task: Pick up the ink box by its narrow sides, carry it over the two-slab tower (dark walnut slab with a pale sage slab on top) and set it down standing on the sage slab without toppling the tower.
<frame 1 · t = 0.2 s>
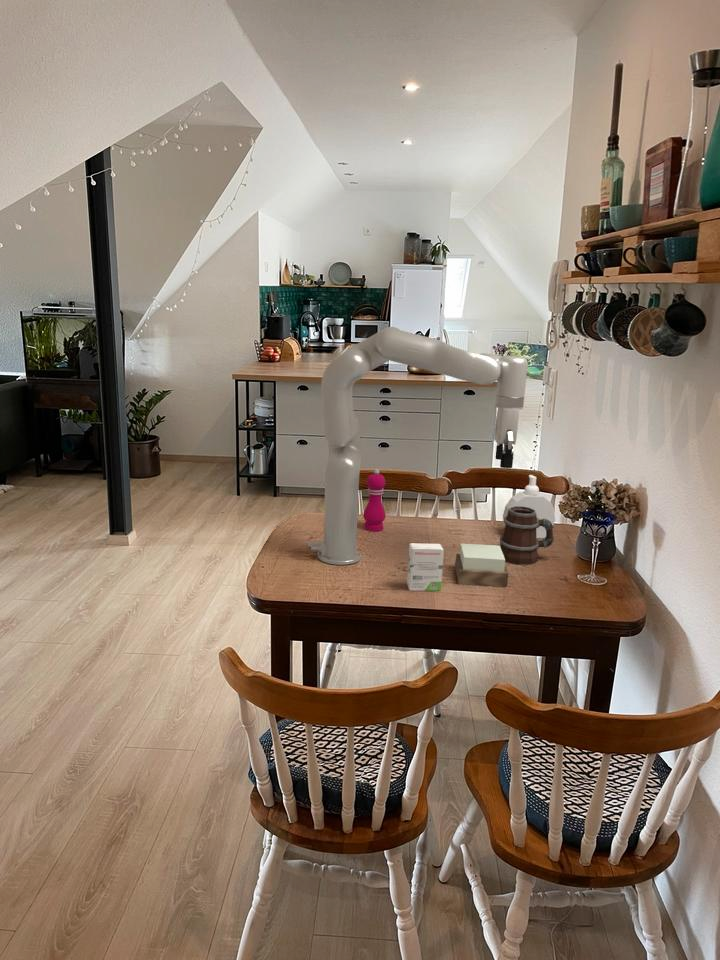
hand: (503, 463, 204), 31 cm above the table, fingers open, 9 cm apart
pepper mill: (373, 529, 241), on the table
tower top: (481, 563, 204), point 4 cm above the table, touching tower base
ink box: (423, 588, 196), on the table
soap bottle: (526, 536, 241), on the table
tower base: (480, 578, 205), on the table, touching tower top
mug: (524, 558, 220), on the table
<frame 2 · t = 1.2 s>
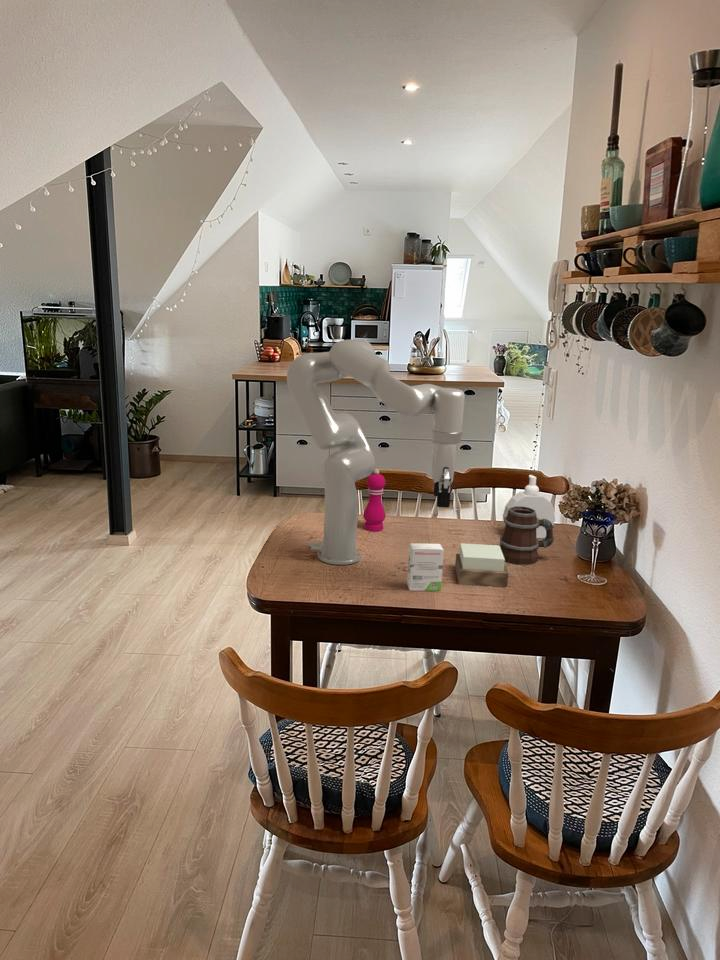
hand: (441, 501, 192), 23 cm above the table, fingers open, 9 cm apart
nothing on the table moved.
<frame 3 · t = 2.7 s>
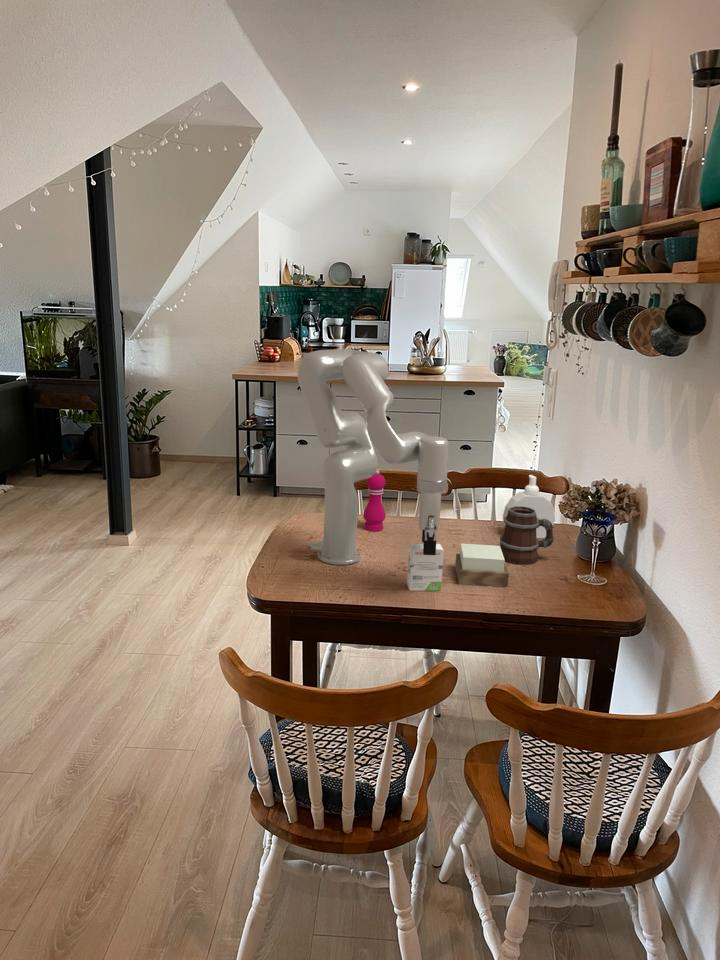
hand: (428, 548, 192), 11 cm above the table, fingers open, 9 cm apart
nothing on the table moved.
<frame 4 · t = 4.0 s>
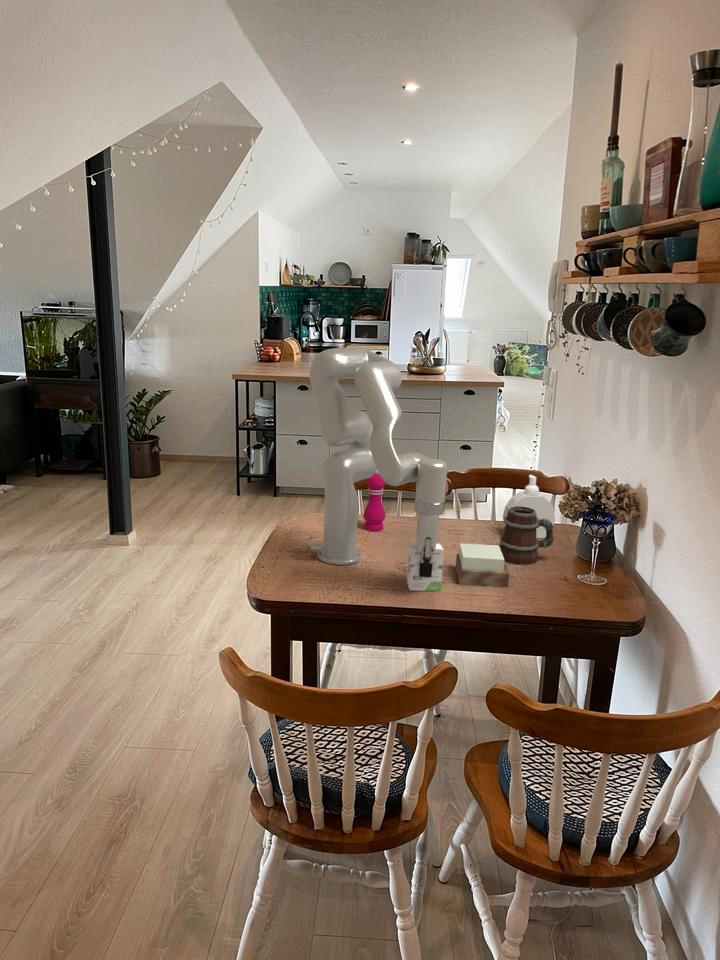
hand: (424, 571, 194), 5 cm above the table, fingers closed on ink box, 5 cm apart
ink box: (423, 588, 196), on the table, touching gripper
everything else where it was.
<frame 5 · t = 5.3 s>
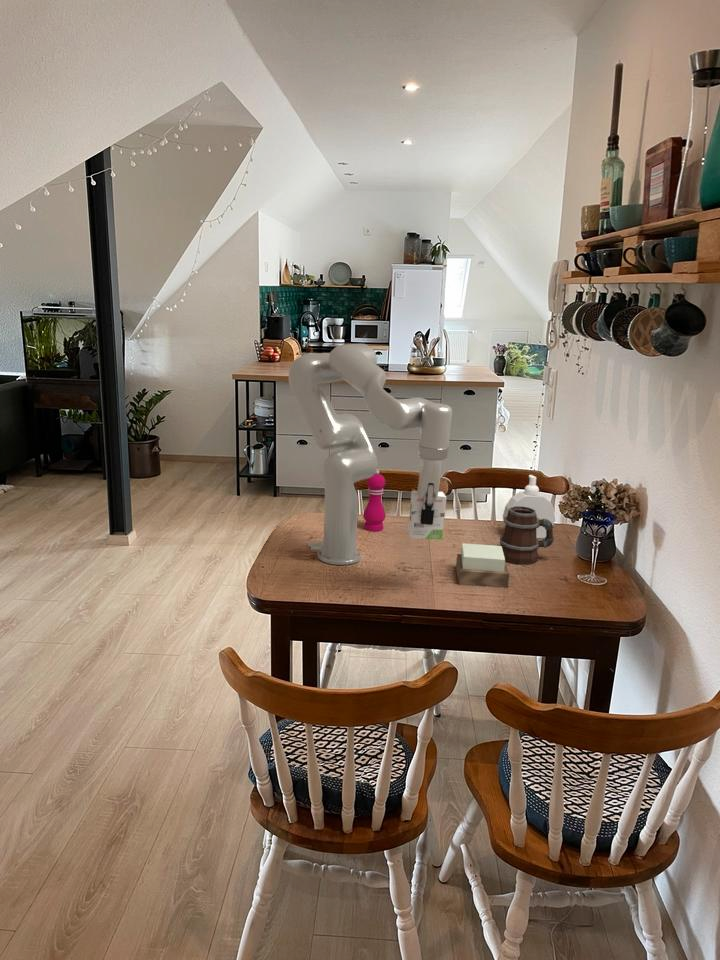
hand: (426, 519, 191), 19 cm above the table, fingers closed on ink box, 5 cm apart
ink box: (424, 536, 193), point 14 cm above the table, touching gripper
everything else where it was.
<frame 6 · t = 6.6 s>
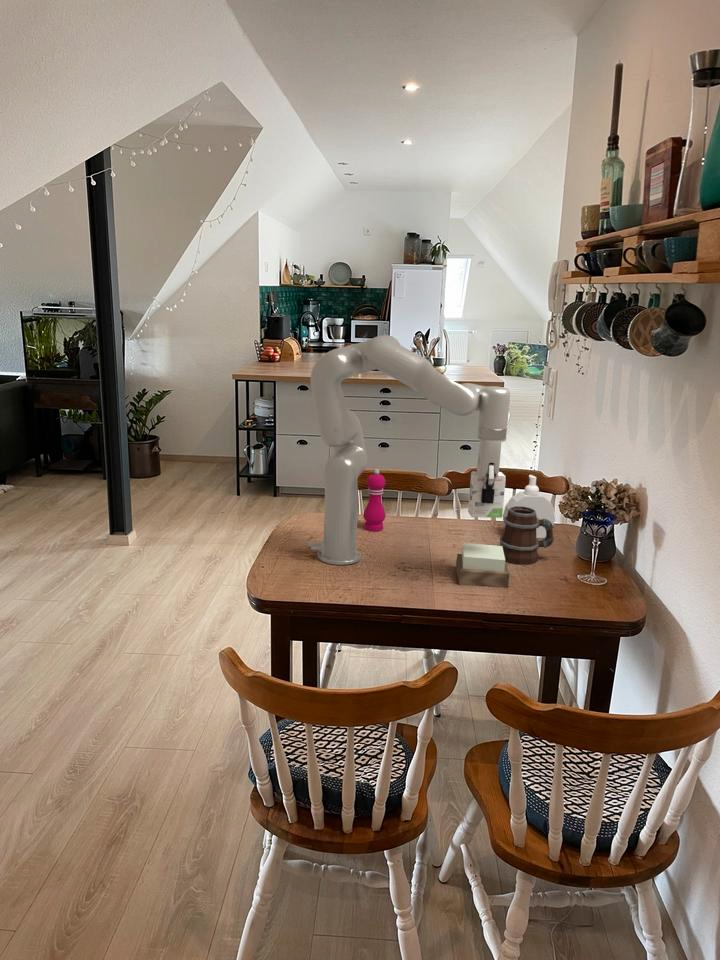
hand: (486, 499, 198), 23 cm above the table, fingers closed on ink box, 5 cm apart
ink box: (484, 515, 200), point 18 cm above the table, touching gripper
everything else where it was.
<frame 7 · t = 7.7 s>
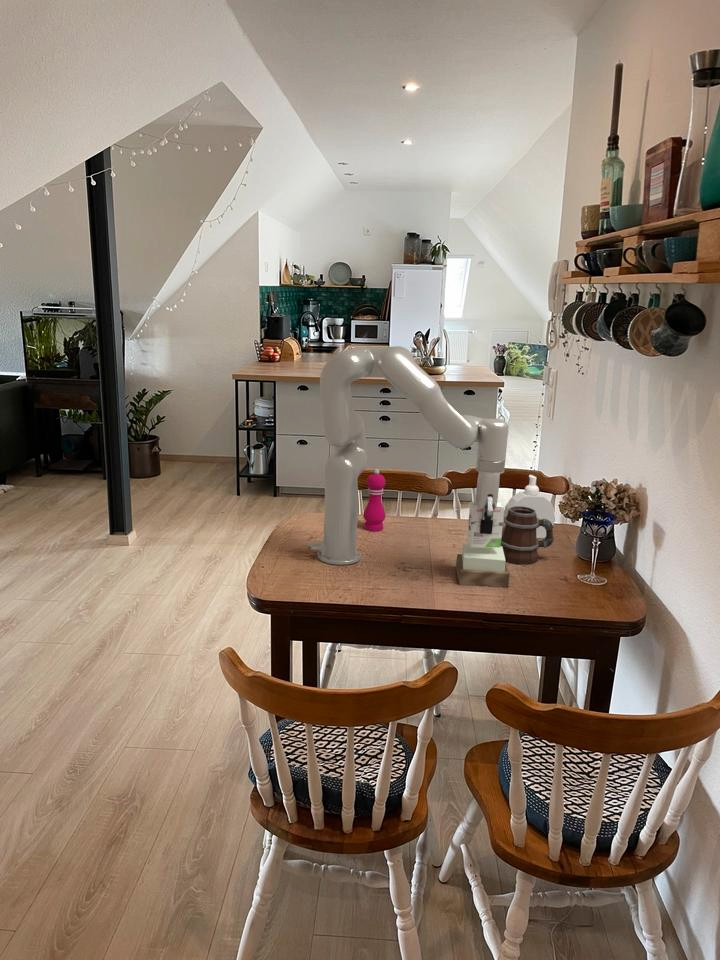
hand: (484, 529, 201), 14 cm above the table, fingers closed on ink box, 5 cm apart
ink box: (483, 545, 202), point 9 cm above the table, touching gripper
everything else where it was.
when the fingers open (14 cm above the table, at t = 8.1 s): ink box drops 2 cm, resting on tower top.
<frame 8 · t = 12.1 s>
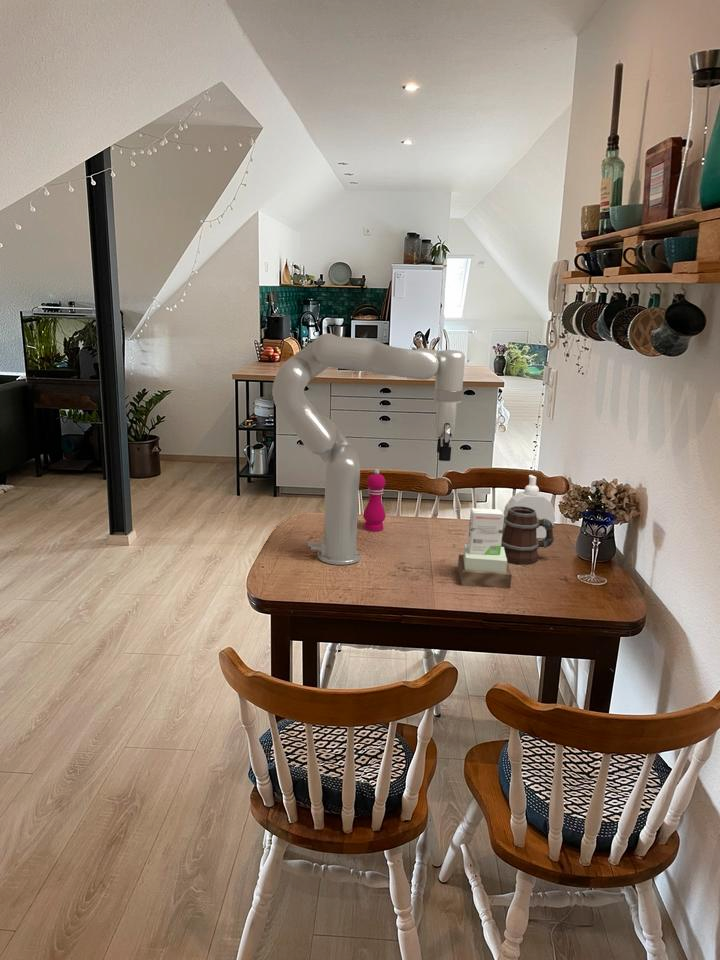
hand: (443, 456, 207), 31 cm above the table, fingers open, 9 cm apart
tower top: (484, 564, 203), point 4 cm above the table, touching ink box, tower base
ink box: (483, 552, 203), point 7 cm above the table, touching tower top
everything else where it was.
at the end: ink box inside the target area on the tower base (0.8 cm from its centre), point 7.8 cm above the tower base's base; ink box tilted 1°; tower top 0.1 cm off-centre on the tower base, point 4.5 cm above the tower base's base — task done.
